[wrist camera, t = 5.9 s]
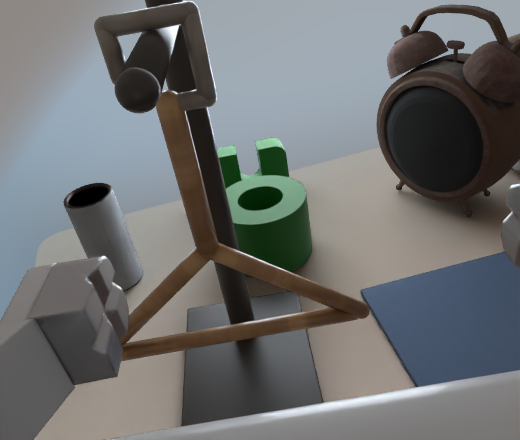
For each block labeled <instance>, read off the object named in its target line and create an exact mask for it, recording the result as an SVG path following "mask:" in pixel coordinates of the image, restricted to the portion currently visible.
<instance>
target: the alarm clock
mask: <svg viewBox="0 0 520 440" xmlns="http://www.w3.org/2000/svg"><path fill="white" fill-rule="evenodd" d="M436 13H462V14H469V15H473V16H476V17H478V18H481V19H484V20H486V21H487V22H488V23H489V24H490V26H491V29H492V30H493V32H494V35H495V37H496V39H497V41H492V42H489V43H486V44H484V45H482V46H481V47H479V48H478V49H477V50H476V51H475V52H474V53H473V54H472V55H471V54H464V53H460V54H458V49H463V48H464V45H465V44H464V42H461V41H453V40H452V41H448V42H447V47H448V48H450V49H454V54H451V55H446V56H443V57H440V58H438V59H434V60H431V59H433V58H435V57H437V56H439V55H441V54H443V53H445V52H447V51H448V49H447V47H446V45H445V43H444V42H443V41H442V39H441V38H440V37H439V36H438V35H437V34H436V33H433V32H430V31H419V32H418V30H419V29H420V27H421V25H422V24H423V22H424V21H425V19H426V18H427V16H429V15H432V14H436ZM401 34H402V37H403V38H402V39H400V40H398V41H396V42H395V45H394V46H393V47H392V49H391V50H390V52H389V54H388V58H387V66H388V71H389V75H390V78H391V79H392V78H394V77H396V76H398V75H400V74H402V73H404V72H406V71H409V70H410V69H413V68H414V69H413V70H411V71H410V72H408V73H407V74H406V75H404V76H402V77H401V78H400V79H398V80H397V81H396V82H394V83H393V84H392V85H391V86H390V87H389V89H388V90H387V91H386V93H385V95H384V96H383V98H382V100H381V103H380V106H379V109H378V114H377V134H378V140H379V144H380V147H381V150H382V153H383V155H384V157H385V159H386V161H387V163H388V164H389V166H390V167H391V169H392V170H393V172H394V173H395V174H396V175H397V176H398V178H399V179H400V183H399V185H397V186H396V189H397V190H401V189H402V186H403V185H404V184H406V185H407V186H408V187H410V188H411V189H412V190H414V191H415V192H417V193H419V194H421V195H423V196H425V197H428V198H430V199H434V200H438V201H445V202H453V201H459V203H460V204H461V206H462V207H463V209H464V210H465V212H466V213H465V215H466V216H467V217H471V216H472V215H473V214H472V212H471V211H470V209H469V205H468V201H467V198H470V197H472V196H474V195H476V194H478V193H479V192H481V191H483V192H484V196H486V197H488V196H490V192H489V191H488V190H487V188H489V187H490V186H492V185H493V184H495V183H496V182H497V181H499V180H500V179H501V178H502V177H504V176H505V175H506V174H507V172H508V171H509V170H510V169H511V168H512V167H513V166H514V165H515V164H516V163H517V162H518V161H519V159H520V39H519V40H517V41H515V43H511V42H509V40H508V38H507V35H506V32H505V30H504V28H503V26H502V23H501V21H500V19H499V17H498V16H497V15H496V14H495V13H494V12H491V11H488V10H486V9H483V8H480V7H476V6H468V5H441V6H438V7H434V8H431V9H427V10H425V11H423V12H422V13H420V14H419V16H418V17H417V18H416V20H415V22H414V24H413V26H412V27H411V29H409V27H408V26H407V25H404V26H402V27H401ZM429 60H431V61H429ZM427 61H428V62H427ZM425 62H426V63H425ZM423 63H424V64H423ZM415 67H416V68H415Z"/></svg>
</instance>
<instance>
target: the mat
mask: <svg viewBox="0 0 520 440" xmlns="http://www.w3.org/2000/svg"><path fill="white" fill-rule="evenodd" d="M361 294H362V296H363V298H364V299H365V301H366V303H367V304H368V306H369V308H370V309H371V311H372V313H373V315H374V316H375V318H376V320H377V321H378V323H379V325H380V326H381V328H382V330H383V331H384V333H385V335H386V337H387V338H388V340H389V342H390V343H391V345H392V347H393V348H394V350H395V352H396V353H397V355H398V357H399V359H400V360H401V362H402V364H403V365H404V367H405V369H406V370H407V372H408V374H409V375H410V377H411V379H412V380H413V382H414V384H415V386H416V387H421V386H427V385H433V384H439V383H445V382H451V381H457V380H463V379H469V378H475V377H481V376H487V375H493V374H499V373H505V372H511V371H517V370H520V268H519V267H516V266H515V265H514V264H513V263H512V262H511V260H510V259H509V258H508V256H507V254H506V252H501V253H498V254H494V255H490V256H486V257H483V258H479V259H475V260H471V261H468V262H464V263H460V264H456V265H452V266H449V267H445V268H441V269H437V270H434V271H430V272H426V273H422V274H419V275H415V276H411V277H407V278H404V279H400V280H396V281H392V282H388V283H385V284H381V285H377V286H373V287H370V288H366V289H362V290H361Z"/></svg>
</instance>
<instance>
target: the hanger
mask: <svg viewBox="0 0 520 440" xmlns="http://www.w3.org/2000/svg"><path fill="white" fill-rule="evenodd" d="M177 25H182V28H183V33H184V37H185V41H186V46H187V50H188V54H189V59H190V63H191V67H192V72H193V76H194V80H195V85H196V89H197V90H192V91H186V92H181V93H177V92H175V91H172V90H165V91H163V92H162V93H161V96H160V99H159V102H158V103H157V105H156V109H157V113H158V116H159V120H160V123H161V127H162V130H163V134H164V137H165V141H166V144H167V148H168V151H169V155H170V158H171V162H172V165H173V169H174V172H175V176H176V179H177V183H178V186H179V190H180V193H181V197H182V200H183V204H184V207H185V211H186V214H187V218H188V222H189V225H190V229H191V232H192V236H193V239H194V243H195V246H196V248H195V249H194V250H193V251H192V252H191V253H190V254H189V255H188V256H187V257H186V258H185V259H184V260H183V261H182V262H181V263H180V264H179V265H178V266H177V267H176V268H175V269H174V270H173V271H172V272H171V273H170V274H169V275H168V276H167V277H166V278H165V279H164V281H163V282H162V283H161V284H160V285H159V286H158V287H157V288H156V289H155V290H154V291H153V292H152V293H151V294H150V295H149V296H148V297H147V298H146V299H145V300H144V301H143V302H142V303H141V304H140V305H139V306H138V307H137V308H136V309H135V310H134V311H133V312H132V313H131V314H130V315H129V324H128V329H127V333H126V334H125V335H124V336H123V337H122V338H121V339H120V340H119V341H120V344H121V346H122V348H123V353H122V358H121V361H125V360H131V359H136V358H142V357H148V356H153V355H159V354H165V353H171V352H176V351H182V350H188V349H193V348H199V347H205V346H210V345H216V344H222V343H227V342H233V341H239V340H245V339H250V338H256V337H262V336H267V335H273V334H279V333H284V332H290V331H296V330H301V329H307V328H313V327H318V326H324V325H330V324H336V323H341V322H347V321H353V320H357V319H358V318H359V319H363V318H366V317H367V316H368V315H369V312H370V310H369V307H368V305H367V304H366V303H364V302H361V301H359V300H357V299H354V298H352V297H349V296H347V295H344V294H342V293H340V292H337V291H335V290H332V289H330V288H327V287H325V286H323V285H320V284H318V283H315V282H313V281H310V280H308V279H306V278H303V277H301V276H298V275H296V274H293V273H291V272H289V271H286V270H284V269H281V268H279V267H276V266H274V265H272V264H269V263H267V262H264V261H262V260H259V259H257V258H255V257H252V256H250V255H247V254H245V253H242V252H240V251H238V250H235V249H233V248H230V247H228V246H225V245H223V244H221V243H218V239H217V235H216V231H215V227H214V223H213V219H212V215H211V211H210V207H209V203H208V199H207V195H206V191H205V187H204V183H203V179H202V175H201V171H200V167H199V163H198V159H197V155H196V151H195V147H194V143H193V139H192V135H191V131H190V127H189V123H188V119H187V115H186V111H188V110H194V109H199V108H205V107H210V106H213V105H214V104H215V103H216V100H217V94H216V90H215V85H214V80H213V75H212V70H211V66H210V61H209V56H208V51H207V47H206V41H205V37H204V32H203V27H202V22H201V17H200V12H199V8H198V6H197V5H196V4H195V3H193V2H191V1H185V2H180V3H174V4H169V5H163V6H158V7H152V8H147V9H141V10H136V11H131V12H125V13H120V14H114V15H108V16H103V17H99V18H98V19H97V20H96V21H95V24H94V28H95V32H96V35H97V38H98V41H99V44H100V47H101V50H102V53H103V56H104V59H105V62H106V65H107V68H108V71H109V74H110V78H111V80H112V82H113V83H114V85H115V83H116V80H117V78H118V76H119V74H120V72H121V70H122V69H123V67H124V65H125V63H126V60H125V57H124V54H123V50H122V47H121V44H120V40H119V37H118V36H122V35H128V34H133V33H139V32H144V31H150V30H155V29H161V28H166V27H172V26H177ZM209 260H212V261H215V262H218V263H220V264H223V265H225V266H228V267H230V268H233V269H235V270H238V271H240V272H243V273H245V274H248V275H250V276H253V277H255V278H258V279H260V280H263V281H266V282H268V283H271V284H273V285H276V286H278V287H281V288H283V289H286V290H288V291H291V292H293V293H296V294H298V295H301V296H303V297H306V298H309V299H311V300H314V301H316V302H319V303H321V304H324V305H326V306H329V308H323V309H317V310H312V311H306V312H300V313H294V314H289V315H283V316H277V317H272V318H266V319H260V320H255V321H249V322H243V323H238V324H232V325H226V326H221V327H215V328H209V329H204V330H198V331H192V332H187V333H181V334H175V335H170V336H164V337H158V338H152V339H147V340H141V341H135V342H130V343H126V342H127V341H128V340H129V339H130V338H131V337H132V336H133V335H135V334H136V333H137V332H138V331H139V330H140V329H141V328H142V327H143V326H144V325H145V324H146V323H147V322H148V321H149V320H150V319H151V318H152V317H153V316H154V315H155V314H156V313H157V312H158V311H159V310H160V309H161V308H162V307H163V306H164V305H165V304H166V303H167V302H168V301H169V300H170V299H171V298H172V297H173V296H174V295H175V294H176V293H177V292H178V291H179V290H180V289H181V288H182V287H183V286H184V285H185V284H186V283H187V282H188V281H189V280H190V279H191V278H192V277H193V276H194V275H195V274H196V273H197V272H198V271H199V270H200V269H201V268H202V267H203V266H204V265H205V264H206V263H207V262H208V261H209Z"/></svg>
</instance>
